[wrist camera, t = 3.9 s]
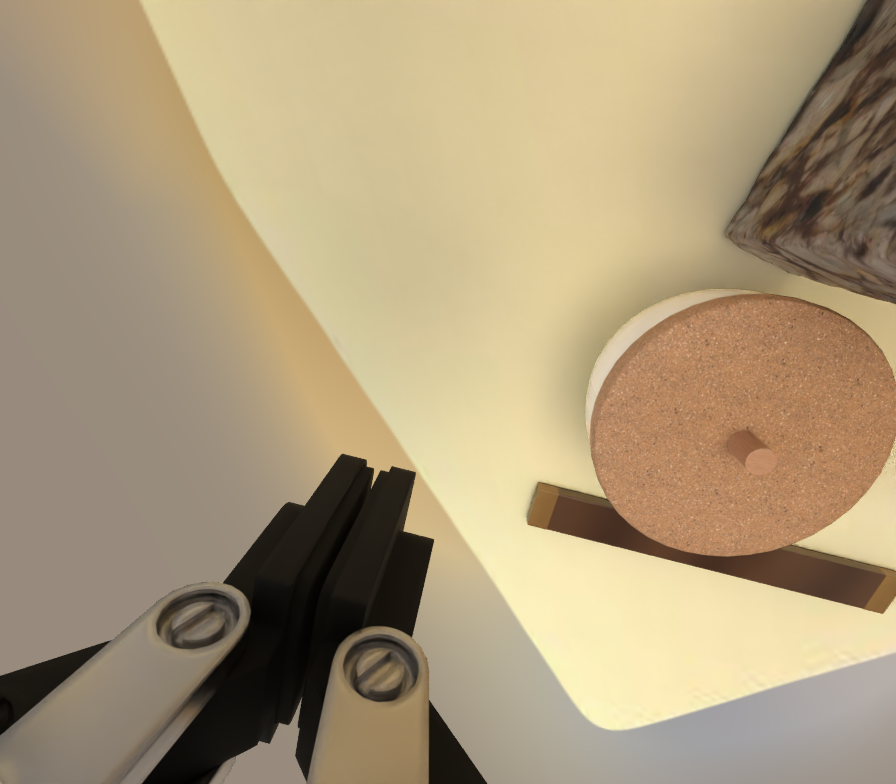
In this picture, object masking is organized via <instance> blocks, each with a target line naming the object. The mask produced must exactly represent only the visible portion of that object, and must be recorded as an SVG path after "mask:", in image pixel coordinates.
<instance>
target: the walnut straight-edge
mask: <svg viewBox="0 0 896 784" xmlns="http://www.w3.org/2000/svg"><path fill="white" fill-rule="evenodd" d="M527 524H528V525H531V526H535V527H539V528H543V529H548V530H552V531H556V532H560V533H564V534H568V535H572V536H576V537H580V538H584V539H588V540H592V541H596V542H600V543H604V544H608V545H612V546H616V547H620V548H624V549H628V550H632V551H636V552H640V553H644V554H648V555H652V556H656V557H660V558H663V559H667V560H671V561H675V562H679V563H683V564H687V565H691V566H695V567H699V568H703V569H707V570H711V571H715V572H719V573H723V574H727V575H731V576H735V577H739V578H743V579H747V580H751V581H755V582H759V583H763V584H767V585H771V586H775V587H779V588H783V589H787V590H791V591H795V592H799V593H803V594H807V595H811V596H815V597H819V598H823V599H827V600H831V601H835V602H839V603H843V604H847V605H851V606H855V607H858V608H862V609H865V610H869V611H873V612H877V613H881V614H883V613H884V612H885V611H886V609H887V608H888V606H889V605H890V604H891V602H892V601H893V599H894V598H895V597H896V571H893V570H889V569H885V568H881V567H876V566H872V565H868V564H864V563H860V562H856V561H852V560H848V559H844V558H840V557H836V556H832V555H828V554H824V553H820V552H816V551H812V550H808V549H804V548H799V547H795V546H791V545H787V546H784V547H781V548H778V549H775V550H772V551H767V552H762V553H756V554H751V555H740V556H728V557H727V556H711V555H702V554H696V553H690V552H685V551H681V550H678V549H675V548H672V547H669V546H666V545H663V544H661V543H659V542H657V541H655V540H653V539H651V538H649V537H647V536H646V535H644V534H643V533H641V532H640V531H638V530H637V529H635V528H634V527H632V526H631V525H630V524H629V523H628V522H627V521H626V520H625V519H624V518H623V517H622V516H621V515H620V514H619V513H618V512H617V511H616V510H615V508H614V507H613V505H612V504H611V503H610V501H609V500H606V499H602V498H598V497H594V496H590V495H586V494H582V493H578V492H574V491H570V490H566V489H562V488H558V487H555V486H551V485H547V484H543V483H538V484H537V487H536V490H535V493H534V496H533V500H532V503H531V506H530V509H529V512H528V515H527Z"/></svg>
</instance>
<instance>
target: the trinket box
mask: <svg viewBox="0 0 896 784" xmlns="http://www.w3.org/2000/svg"><path fill="white" fill-rule="evenodd" d="M585 414H586V426H587V435H588V439H589V443H590V447H591V457H592V460H593V464H594V467H595V471H596V474H597V478H598V480H599V483H600V485H601V487H602V489H603V491H604V493H605V495H606V497H607V499H608V500H609V501H610V503H611V504H612V505H613V507H614V508H615V510H616V511H617V512H618V513H619V514H620V515H621V516H622V517H623V518H624V519H625V520H626V521H627V522H628V523H629V524H630V525H631V526H632V527H634V528H635V529H637V530H638V531H640V532H641V533H643V534H644V535H646V536H647V537H649V538H651V539H653V540H655V541H657V542H659V543H661V544H663V545H666V546H669V547H672V548H675V549H678V550H681V551H685V552H690V553H696V554H702V555H711V556H727V557H728V556H740V555H751V554H756V553H762V552H767V551H772V550H775V549H778V548H781V547H784V546H787V545H790V544H793V543H795V542H798V541H800V540H802V539H805V538H807V537H809V536H811V535H814V534H815V533H817V532H818V531H820V530H822V529H823V528H825V527H826V526H828V525H830V524H831V523H833V522H834V521H836V520H837V519H838V518H839V517H841V516H842V515H843V514H845V513H846V512H847V511H849V510H850V509H851V508H852V507H853V506H854V505H855V504H856V503H857V502H858V501H859V500H860V499H861V497H862V496H863V495H864V494H865V493H866V492H867V491H868V490H869V488H870V487H871V486H872V484H873V483H874V482H875V480H876V479H877V478H878V476H879V475H880V473H881V471H882V469H883V467H884V465H885V463H886V461H887V459H888V457H889V455H890V452H891V449H892V446H893V443H894V440H895V437H896V383H895V379H894V376H893V372H892V369H891V367H890V365H889V363H888V361H887V360H886V358H885V356H884V354H883V352H882V350H881V349H880V348H879V347H878V346H877V344H876V343H875V342H874V341H873V340H872V338H871V337H870V336H869V335H868V334H867V333H866V332H865V331H864V330H862V329H861V328H860V327H859V326H857V325H856V324H855V323H854V322H852V321H851V320H850V319H848V318H846V317H844V316H842V315H840V314H839V313H837V312H835V311H833V310H831V309H829V308H826V307H823V306H820V305H817V304H814V303H811V302H808V301H805V300H801V299H798V298H793V297H787V296H780V295H773V294H767V293H763V292H756V291H749V290H742V289H708V290H702V291H695V292H689V293H685V294H681V295H678V296H674V297H671V298H668V299H665V300H663V301H660V302H658V303H656V304H654V305H652V306H650V307H648V308H646V309H645V310H643V311H642V312H640V313H638V314H637V315H635V316H634V317H632V318H631V319H630V320H629V321H628V322H627V323H625V324H624V325H623V326H622V327H621V328H620V329H619V330H618V331H617V332H616V333H615V334H614V335H613V337H612V338H611V339H610V340H609V341H608V342H607V344H606V346H605V347H604V349H603V350H602V352H601V353H600V355H599V357H598V359H597V361H596V364H595V366H594V368H593V370H592V373H591V377H590V381H589V385H588V389H587V394H586V407H585Z"/></svg>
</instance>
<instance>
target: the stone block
mask: <svg viewBox="0 0 896 784" xmlns="http://www.w3.org/2000/svg"><path fill="white" fill-rule="evenodd" d="M725 236H726V237H728V238H730V239H731V240H732V241H733V242H734V243H735V244H736V245H737V246H738V247H739V248H741V249H743V250H746V251H748V252H750V253H752V254H754V255H756V256H757V257H759V258H761V259H762V260H765V261H767V262H770V263H772V264H775V265H777V266H779V267H780V268H782V269H783V270H785V271H786V272H788V273H791V274H795V275H799V276H804V277H806V278H808V279H811V280H814V281H817V282H820V283H823V284H826V285H829V286H834V287H840V288H843V289H846V290H848V291H851V292H854V293H857V294H861V295H864V296H868V297H871V298H874V299H878V300H882V301H887V302H891V303H894V304H896V0H868V1H867V2H866V4H865V6H864V8H863V9H862V11H861V13H860V15H859V17H858V18H857V20H856V22H855V24H854V25H853V27H852V29H851V31H850V33H849V34H848V36H847V38H846V40H845V41H844V43H843V45H842V46H841V48H840V49H839V51H838V53H837V54H836V56H835V57H834V59H833V60H832V62H831V63H830V65H829V66H828V68H827V69H826V71H825V72H824V74H823V75H822V77H821V79H820V80H819V82H818V83H817V85H816V86H815V88H814V89H813V91H812V92H811V94H810V95H809V97H808V99H807V100H806V102H805V103H804V105H803V106H802V108H801V110H800V111H799V113H798V114H797V116H796V117H795V119H794V121H793V122H792V124H791V125H790V127H789V128H788V130H787V132H786V134H785V135H784V137H783V139H782V140H781V142H780V144H779V146H778V147H777V148H776V149H775V151H774V152H773V153H772V154H771V156H770V157H769V158H768V160H767V162H766V164H765V166H764V167H763V169H762V171H761V173H760V175H759V177H758V178H757V180H756V182H755V184H754V186H753V188H752V190H751V192H750V194H749V196H748V198H747V199H746V201H745V203H744V204H743V205H742V207H741V208H740V209H739V211H738V212H737V213H736V215H735V216H734V218H733V219H732V221H731V223H730V225H729V226H728V228H727V230H726V231H725Z"/></svg>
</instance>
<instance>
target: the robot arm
mask: <svg viewBox="0 0 896 784" xmlns="http://www.w3.org/2000/svg"><path fill="white" fill-rule="evenodd" d="M366 466H367V460H365V459H361V458H357V457H353V456H349V455H345V454H341V456H340V457H339V458H338V460H337V461H336V462H335V464H334V465H333V467H332V468H331V469H330V471H329V472H328V474H327V475H326V477H325V478H324V479H323V481H322V482H321V484H320V485H319V487H318V488H317V489H316V491H315V492H314V493H313V495H312V496H311V498H310V499H309V501H308V502H307V503H306V505H305V506H303V505H299V504H295V503H291V502H288V503H286V504H285V505H284V506H283V507H282V508H281V509H280V511H279V512H278V513H277V515H276V516H275V517H274V518H273V519H272V521H271V522H270V524H269V525H268V526H267V527H266V528H265V530H264V531H263V532H262V534H261V535H260V536H259V537H258V539H257V540H256V541H255V543H254V544H253V545H252V546H251V548H250V549H249V550H248V551H247V553H246V554H245V555H244V557H243V558H242V559H241V560H240V562H239V563H238V564H237V566H236V567H235V568H234V570H233V571H232V572H231V573H230V574H229V576H228V577H227V578H226V580H225V581H224V582H223V583H219V582H201V583H195V584H190V585H186V586H184V587H181V588H179V589H176V590H174V591H172V592H170V593H169V594H167V595H166V596H165V597H163V598H161V599H160V600H158V602H156V603H155V604H154V605H153V606H151V607H150V608H149V609H148V610H147V611H146V612H144V613H143V614H142V615H141V616H140V617H139V618H137V619H136V620H135V621H134V622H133V623H132V624H130V625H129V626H128V627H127V628H126V629H125V630H123V631H122V632H121V633H120V634H119V635H117V636H116V637H115V638H114V639H113V640H110V641H107V642H104V643H101V644H98V645H95V646H92V647H88V648H85V649H82V650H79V651H76V652H73V653H70V654H67V655H64V656H61V657H57V658H54V659H51V660H48V661H45V662H42V663H39V664H36V665H33V666H29V667H26V668H23V669H20V670H17V671H14V672H11V673H8V674H5V675H2V676H0V784H223V783H224V781H225V780H226V778H227V777H228V775H229V773H230V771H231V769H232V767H233V765H234V763H235V760H236V756H237V755H239V754H241V753H243V752H245V751H247V750H249V749H251V748H252V747H254V746H256V745H257V744H258V742H259V741H261V742H265V743H270V742H271V740H272V738H273V735H274V733H275V731H276V729H277V727H278V724H279V723H282V724H286V725H289V724H290V723H291V721H292V719H293V717H294V714H295V712H296V710H297V707H298V705H299V703H300V700H301V698H302V701H301V708H300V714H299V721H298V728H300V730H299V736H298V742H297V749H296V755H295V756H296V759H297V761H298V763H299V766H300V768H301V770H302V773H303V775H304V777H305V779H306V782H307V783H306V784H487V782H486V781H485V780H484V778H483V777H482V775H481V774H480V773H479V771H478V770H477V768H476V767H475V765H474V764H473V762H472V761H471V760H470V758H469V757H468V755H467V754H466V752H465V751H464V749H463V748H462V747H461V745H460V744H459V742H458V741H457V739H456V738H455V736H454V735H453V734H452V732H451V731H450V729H449V728H448V726H447V725H446V723H445V722H444V721H443V719H442V718H441V716H440V715H439V713H438V712H437V711H436V709H435V708H434V706H433V705H432V703H431V702H430V700H429V668H428V662H427V658H426V656H425V654H424V652H423V650H422V648H421V647H420V646H419V645H418V643H416V641H415V640H414V639H412V635H413V631H414V627H415V622H416V618H417V613H418V609H419V605H420V600H421V596H422V591H423V587H424V583H425V578H426V573H427V569H428V565H429V561H430V556H431V552H432V547H433V543H434V539H431V538H427V537H423V536H419V535H416V534H412V533H407V532H404V531H403V530H404V525H405V520H406V516H407V511H408V507H409V503H410V498H411V494H412V488H413V484H414V480H415V475H416V472H412V471H409V470H405V469H401V468H397V467H393V466H392V467H391V469H390V471H389V472H386V471H382V470H381V471H380V473H379V475H378V477H377V479H376V481H375V482H374V484H373V486H372V488H371V485H372V480H373V474H374V468H370V467H366Z"/></svg>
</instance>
